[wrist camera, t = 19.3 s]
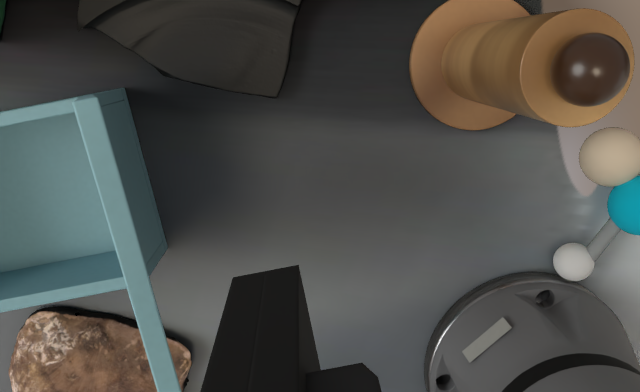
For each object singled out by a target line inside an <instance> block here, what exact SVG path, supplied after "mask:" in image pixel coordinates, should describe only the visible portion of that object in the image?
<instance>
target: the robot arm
mask: <svg viewBox="0 0 640 392" xmlns="http://www.w3.org/2000/svg"><path fill="white" fill-rule="evenodd" d="M424 377H425V384H426V389H427V392H640V365H639V363H638V360H637V358H636V355H635V353H634V351H633V348H632V346H631V344H630V341H629V339H628V336H627V334H626V332H625V330H624V328H623V326H622V324H621V323H620V321H619V319H618V318H617V316H616V315H615V314H614V313H613V311H612V310H611V309H610V308H609V307H608V306H607V305H606V304H605V303H604V302H602V301H601V300H600V299H599V298H598V297H596V296H595V295H594V294H593V293H591V292H590V291H589V290H588V289H586V288H585V287H583V286H581V285H580V284H578V283H576V282H574V281H570V280H567V279H564V278H563V277H561V276H557V275H553V274H547V273H535V272H531V273H518V274H511V275H507V276H503V277H500V278H497V279H493V280H491V281H489V282H486V283H484V284H482V285H480V286H478V287H476V288H475V289H473V290H472V291H470V292H468V293H467V294H466V295H464V296H463V297H462V298H461V299H459V300H458V301H457V302H456V303H455V304H454V305H453V306H452V307H451V308H450V309H449V310H448V311H447V312H446V313H445V315H444V316H443V318H442V319H441V320H440V322H439V323H438V325H437V327H436V328H435V330H434V332H433V334H432V336H431V339H430V341H429V344H428V347H427V351H426V356H425V363H424ZM201 392H381V388H380V384H379V380H378V377H377V376H376V375H375V374H374V373H373V372H372V371H370V370H369V369H368V368H367V367H366V366H365V365H364V364H363V363H358V364H353V365H348V366H342V367H337V368H332V369H326V370H321V369H320V364H319V360H318V355H317V350H316V345H315V341H314V336H313V331H312V327H311V322H310V317H309V312H308V308H307V303H306V298H305V293H304V289H303V284H302V279H301V275H300V270H299V265H296V266H291V267H286V268H280V269H275V270H270V271H265V272H259V273H254V274H249V275H244V276H238V277H233V279H232V283H231V286H230V290H229V293H228V297H227V300H226V304H225V307H224V311H223V314H222V318H221V321H220V325H219V328H218V332H217V335H216V339H215V343H214V346H213V350H212V353H211V357H210V360H209V364H208V367H207V371H206V374H205V378H204V381H203V385H202V388H201Z"/></svg>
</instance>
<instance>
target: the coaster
mask: <svg viewBox="0 0 640 392" xmlns="http://www.w3.org/2000/svg"><path fill="white" fill-rule="evenodd" d="M525 16H530V14H529V13H528V12H527V11H526V10H525V9H524V8H523V7H522V6H520V5H519V4H518V3H517V2H515V1H513V0H449V1H447V2H445V3H444V4H442V5H440V6H439V7H438V8H437V9H435V10H434V11H433V12H432V13H431V14H430V15H429V16H428V17H427V18H426V20H425V21H424V22H423V24H422V25H421V27H420V28H419V30H418V32H417V34H416V36H415V39H414V41H413V44H412V48H411V52H410V59H409V72H410V79H411V83H412V87H413V90H414V92H415V94H416V96H417V98H418V100H419V102H420V103H421V104H422V106H423V107H424V108H425V110H427V111H428V112H429V113H430V114H431V115H432V116H433V117H435V118H436V119H437V120H439V121H441V122H443V123H444V124H446V125H449V126H451V127H454V128H458V129H463V130H482V129H488V128H491V127H494V126H497V125H500V124H502V123H504V122H506V121H507V120H509V119H511V118H512V117H513V116H515V115H516V113H512V112H509V111H505V110H502V109H499V108H495V107H492V106H488V105H485V104H482V103H478V102H475V101H471V100H468V99H465V98H462V97H460V96H458V95H457V94H455V93H454V92H453V91H452V90H451V89H450V88H449V87H448V85H447V84H446V82H445V80H444V77H443V74H442V68H441V61H442V55H443V51H444V49H445V47H446V45H447V43H448V41H449V40H450V39H451V37H452V36H453V35H454V34H455V33H457V32H458V31H459V30H461V29H462V28H464V27H466V26H469V25H472V24H477V23H484V22H491V21H498V20H504V19H511V18H518V17H525Z"/></svg>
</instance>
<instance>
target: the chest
mask: <svg viewBox="0 0 640 392" xmlns="http://www.w3.org/2000/svg"><path fill="white" fill-rule="evenodd" d="M87 95H91V94H87ZM92 95H94V96H96V97H97V98H98V99H99V102H100V106H101V110H102V113H103V117H104V120H105V124H106V127H107V131H108V134H109V138H110V141H111V145H112V148H113V152H114V155H115V159H116V162H117V166H118V169H119V173H120V176H121V180H122V183H123V187H124V191H125V194H126V198H127V201H128V205H129V208H130V212H131V215H132V219H133V222H134V226H135V229H136V233H137V236H138V240H139V243H140V247H141V250H142V254H143V257H144V261H145V265H146V268H147V272H148V275H149V276H150V274H151V273H152V271H153V270H154V268H155V267H156V265H157V264H158V262H159V261H160V259H161V258H162V256H163V254H164V253H165V251H166V250H167V248H168V246H167V243H166V239H165V235H164V231H163V228H162V224H161V220H160V217H159V213H158V209H157V206H156V202H155V198H154V195H153V191H152V187H151V184H150V180H149V176H148V172H147V169H146V165H145V161H144V158H143V154H142V150H141V147H140V143H139V139H138V136H137V132H136V128H135V125H134V121H133V117H132V113H131V110H130V106H129V102H128V99H127V95H126V91H125V88H124V87H123V88H118V89H113V90H108V91H103V92H98V93H92ZM82 96H86V95H82ZM79 97H81V96H77V97H72V98H67V99H62V100H57V101H51V102H46V103H41V104H36V105H31V106H26V107H21V108H16V109H10V110H5V111H0V313H1V312H6V311H11V310H17V309H22V308H27V307H32V306H38V305H43V304H48V303H53V302H58V301H64V300H69V299H74V298H79V297H85V296H90V295H95V294H100V293H106V292H111V291H116V290H121V289H127V287H126V284H125V280H124V277H123V274H122V270H121V267H120V263H119V260H118V257H117V253H116V250H115V247H114V243H113V240H112V236H111V233H110V230H109V226H108V223H107V220H106V216H105V213H104V209H103V206H102V203H101V199H100V196H99V193H98V189H97V186H96V182H95V179H94V176H93V172H92V169H91V166H90V162H89V159H88V155H87V152H86V149H85V145H84V142H83V138H82V135H81V132H80V128H79V125H78V122H77V118H76V115H75V111H74V108H73V105H72V103H73V101H75V100H76V99H77V98H79Z"/></svg>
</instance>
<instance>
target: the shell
mask: <svg viewBox="0 0 640 392" xmlns="http://www.w3.org/2000/svg"><path fill="white" fill-rule="evenodd" d="M76 312H80V315H79V316H76V315H74V314H75V313H76ZM166 338H167V342H168V346H169V349H170V353H171V356H172V360H173V363H174V367H175V370H176V374H177V377H178V381H179V384H180V388H181V391H182V392H183V389H184V387H185V386H186V385H187V383H186V382H189V380H188V379H187V375H188V373H189V369H190V367H191V365H192V362H191V354H190V351H189V350H188V349H187V348H186V347H185V346H184V345H183V344H181V343H179V342H178V341H177V340H176V339H175V338H172V337H166ZM9 376H10V380H11V386H12V392H157V388H156V385H155V382H154V378H153V375H152V372H151V368H150V365H149V361H148V358H147V355H146V351H145V348H144V345H143V341H142V338H141V334H140V331H139V328H138V324H137V322H136V321H133V320H127V319H125V318H121V317H118V316H116V315H115V316H114V315H110V314H103V313H92V312H88V311H82V310H78V309H72V308H64V307H48V308H42V309H39V310H37V311H35V312H34V313H32V314H31V315H30V317H29V318H28V319H27V320H26V322H25V324H24V325H23V327H22V328H21V329H20V331H19V333H18V336H17V342H16V344H15V347H14V352H13V354H12V356H11V364H10V368H9Z"/></svg>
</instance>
